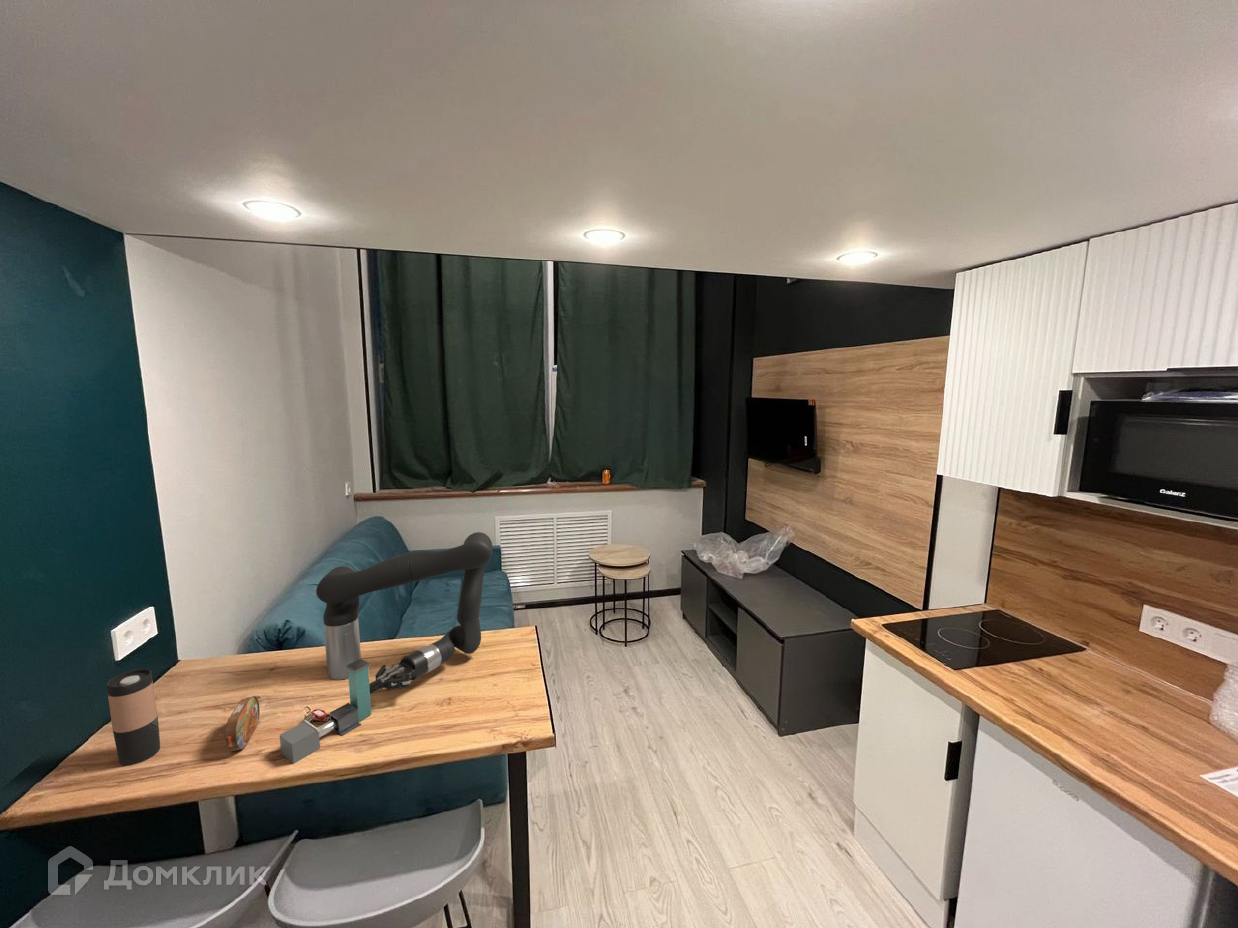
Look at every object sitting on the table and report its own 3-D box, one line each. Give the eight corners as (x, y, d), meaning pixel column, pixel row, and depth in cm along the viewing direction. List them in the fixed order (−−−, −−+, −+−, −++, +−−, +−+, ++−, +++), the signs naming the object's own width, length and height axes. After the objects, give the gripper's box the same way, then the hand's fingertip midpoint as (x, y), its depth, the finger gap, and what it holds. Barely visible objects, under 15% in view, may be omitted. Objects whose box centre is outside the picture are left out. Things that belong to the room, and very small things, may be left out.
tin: (240, 756, 117) (236, 724, 116) (224, 759, 116) (220, 727, 115) (262, 717, 131) (259, 688, 130) (248, 720, 130) (244, 691, 129)
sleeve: (328, 726, 128) (327, 711, 127) (347, 716, 132) (346, 701, 132) (342, 735, 125) (340, 720, 124) (361, 724, 129) (360, 709, 128)
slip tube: (294, 747, 120) (289, 691, 118) (364, 708, 135) (360, 658, 133) (302, 754, 118) (297, 697, 116) (373, 713, 133) (369, 663, 131)
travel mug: (137, 744, 121) (126, 669, 118) (170, 742, 122) (160, 667, 119) (108, 767, 114) (95, 687, 111) (143, 765, 114) (132, 686, 111)
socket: (280, 753, 119) (278, 733, 118) (307, 738, 124) (305, 719, 123) (294, 763, 115) (292, 743, 114) (320, 748, 120) (319, 729, 119)
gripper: (407, 644, 150) (351, 670, 136) (435, 656, 143) (379, 685, 129) (408, 666, 151) (353, 695, 137) (436, 680, 144) (381, 711, 130)
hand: (366, 690), depth 133 cm, fingers closed
